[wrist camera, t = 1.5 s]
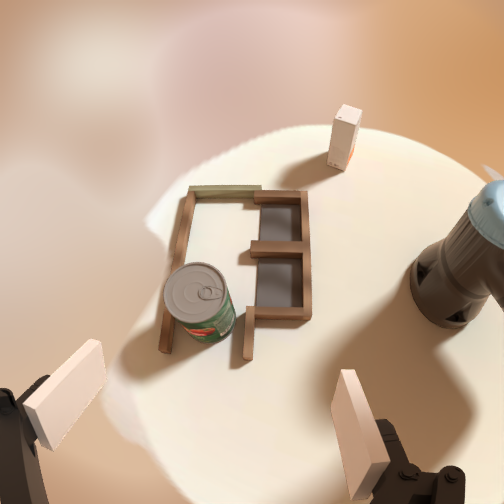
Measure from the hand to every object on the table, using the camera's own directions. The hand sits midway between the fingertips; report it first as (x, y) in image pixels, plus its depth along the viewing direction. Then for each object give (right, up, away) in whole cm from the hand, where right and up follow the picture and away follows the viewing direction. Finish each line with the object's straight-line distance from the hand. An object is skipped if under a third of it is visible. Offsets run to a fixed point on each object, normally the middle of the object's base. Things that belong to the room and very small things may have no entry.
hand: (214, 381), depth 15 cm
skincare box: (+20, +26, +46) cm, 56 cm away
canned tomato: (-4, -3, +31) cm, 32 cm away
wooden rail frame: (0, +5, +35) cm, 35 cm away
